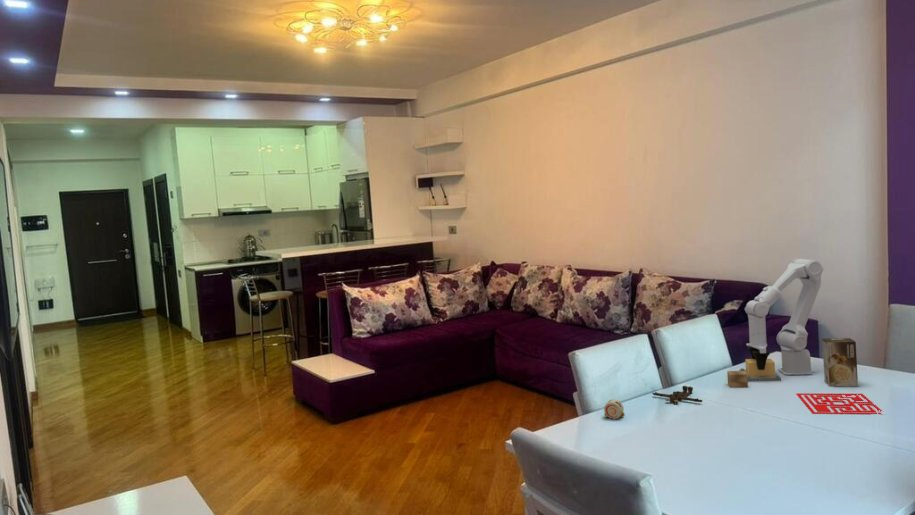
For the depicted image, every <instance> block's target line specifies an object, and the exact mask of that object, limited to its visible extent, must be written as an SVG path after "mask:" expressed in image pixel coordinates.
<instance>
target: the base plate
mask: <svg viewBox="0 0 915 515" xmlns="http://www.w3.org/2000/svg"><path fill="white" fill-rule="evenodd" d="M738 371H745V372H746V369H745V368H743V367H742V368H740V369H738ZM747 375H748V374H747ZM781 381H782V377H781V376H780V375H779V374H778V373H777V372H776V371H775V375H771V376H749V375H748V383H749V382H781Z"/></svg>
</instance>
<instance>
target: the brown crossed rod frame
mask: <svg viewBox="0 0 915 515" xmlns="http://www.w3.org/2000/svg"><path fill="white" fill-rule="evenodd" d="M681 388H682V391H679V390H676V391H674V390H673V392H672V393H671V394H669V393H668V394H667V393H659V392H656V391H655V392H652V395H653V396H657V397H664V398H667V399H665V401H667V402H670V403H671V404H674V403H676V404H677V403H679V402H680V401H681V400H682V401H690V402H694V403H703V399H699V397H698V398H694V397H693V398H692V397H688V396H690V395H692V394H693V390H694V387H692V386H687V385H683V386H682V387H681Z"/></svg>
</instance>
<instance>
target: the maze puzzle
mask: <svg viewBox="0 0 915 515" xmlns="http://www.w3.org/2000/svg"><path fill="white" fill-rule="evenodd" d="M795 394H796V396H797V398H799V399H800V401H802V403H803V404H804V406H805V407H806V408H807V409H808V411H809V412H810V413H811V415H871V414H877V413H878V414H881V413H880V412H879V410H880V411H883V410H882V409H881V408H879V407H878V406H877V405H876V404H875V403H873V401H871V400H870V399H869V397H867V396H866V395H865V394H864V393H810V392H809V393H806V392H805V393H801V392H800V393H795ZM857 394H858V395H857ZM844 395H845V396H846V397H845V396H844ZM860 395H861V397H860ZM847 396H852V397H847ZM855 396H856V397H855ZM811 398H812V399H811ZM823 398H824V399H823ZM831 398H832V399H831ZM841 398H851V399H841ZM805 399H806V400H805ZM865 399H866V400H867V401H868V402H867V401H866V400H865ZM819 400H820V401H819ZM843 400H847V401H848V402H847V401H843ZM851 400H852V401H851ZM853 400H854V401H853ZM813 401H814V402H815V403H814V402H813ZM856 401H864V402H856ZM835 403H837V404H835ZM838 403H840V404H838ZM841 403H842V404H841ZM856 404H858V405H859V406H860V408H859V406H858V405H856ZM874 404H875V405H874ZM810 405H811V406H812V407H813V408H812V407H811V406H810ZM872 405H873V406H874V407H875V408H876V409H877V410H875V408H874V407H873V406H872ZM865 406H867V407H868V408H869V409H868V408H867V407H865ZM853 408H854V409H855V410H854V409H853ZM814 409H815V410H814ZM837 409H838V410H837ZM831 410H832V411H831ZM839 411H840V412H839ZM877 411H878V412H877Z"/></svg>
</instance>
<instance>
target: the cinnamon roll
mask: <svg viewBox="0 0 915 515" xmlns="http://www.w3.org/2000/svg"><path fill="white" fill-rule="evenodd" d="M603 411H604V414H603V415H604V417H605V418H607V417H609V418H608V419H611V418H612V419H611V420H616V419H620V418H624V416H625V412H624V405H623V403H622V402H621V401H620V400H619V399H615V398H613V399H609V400H608V401H607V402H606V403H605V405H604V407H603Z"/></svg>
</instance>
